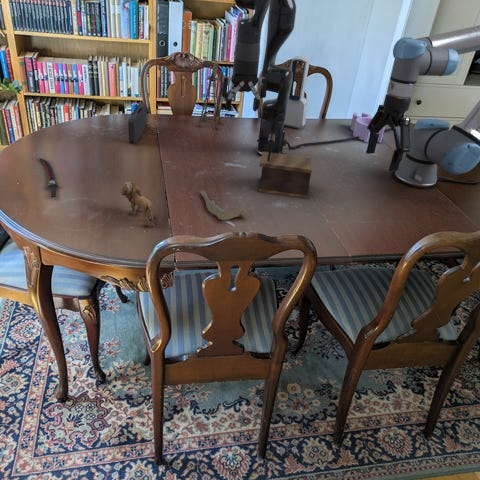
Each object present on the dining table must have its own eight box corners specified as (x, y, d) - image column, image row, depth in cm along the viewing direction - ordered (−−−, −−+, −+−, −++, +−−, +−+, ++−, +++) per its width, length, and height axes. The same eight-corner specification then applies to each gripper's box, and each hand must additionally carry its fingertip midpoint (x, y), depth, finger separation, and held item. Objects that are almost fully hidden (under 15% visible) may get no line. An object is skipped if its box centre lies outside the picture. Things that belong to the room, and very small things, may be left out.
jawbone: (230, 228, 136) (231, 222, 135) (181, 203, 146) (181, 197, 145) (250, 215, 142) (250, 210, 140) (201, 192, 152) (201, 187, 151)
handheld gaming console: (140, 124, 200) (139, 101, 194) (146, 125, 200) (146, 101, 194) (127, 143, 180) (126, 118, 175) (135, 144, 180) (134, 119, 175)
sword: (61, 197, 141) (61, 193, 140) (50, 198, 139) (50, 194, 139) (49, 160, 164) (48, 156, 163) (39, 160, 163) (39, 157, 162)
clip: (343, 126, 223) (346, 112, 219) (367, 127, 225) (371, 113, 221) (360, 142, 206) (364, 127, 202) (386, 142, 209) (390, 127, 205)
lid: (259, 166, 152) (262, 140, 147) (261, 154, 161) (264, 130, 156) (311, 173, 151) (315, 147, 146) (310, 161, 160) (315, 136, 155)
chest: (259, 191, 157) (262, 167, 152) (261, 179, 165) (264, 155, 161) (306, 198, 156) (311, 173, 151) (306, 185, 165) (310, 161, 160)
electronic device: (305, 125, 218) (316, 58, 202) (301, 130, 212) (313, 61, 196) (279, 120, 221) (289, 53, 205) (275, 124, 215) (284, 56, 199)
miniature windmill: (216, 129, 203) (221, 57, 187) (197, 126, 204) (200, 54, 188) (221, 123, 211) (226, 53, 194) (203, 120, 212) (206, 50, 195)
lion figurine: (118, 210, 138) (116, 182, 133) (132, 204, 141) (131, 177, 137) (151, 229, 130) (150, 201, 126) (165, 223, 134) (165, 195, 129)
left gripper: (226, 59, 135) (222, 114, 144) (273, 61, 139) (266, 114, 147) (220, 53, 141) (217, 106, 150) (265, 55, 145) (259, 106, 153)
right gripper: (366, 83, 148) (351, 147, 159) (413, 109, 128) (393, 178, 140) (386, 83, 150) (370, 146, 162) (435, 108, 131) (414, 177, 142)
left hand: (241, 110), depth 149 cm, fingers open, 8 cm apart
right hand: (381, 161), depth 151 cm, fingers open, 13 cm apart
